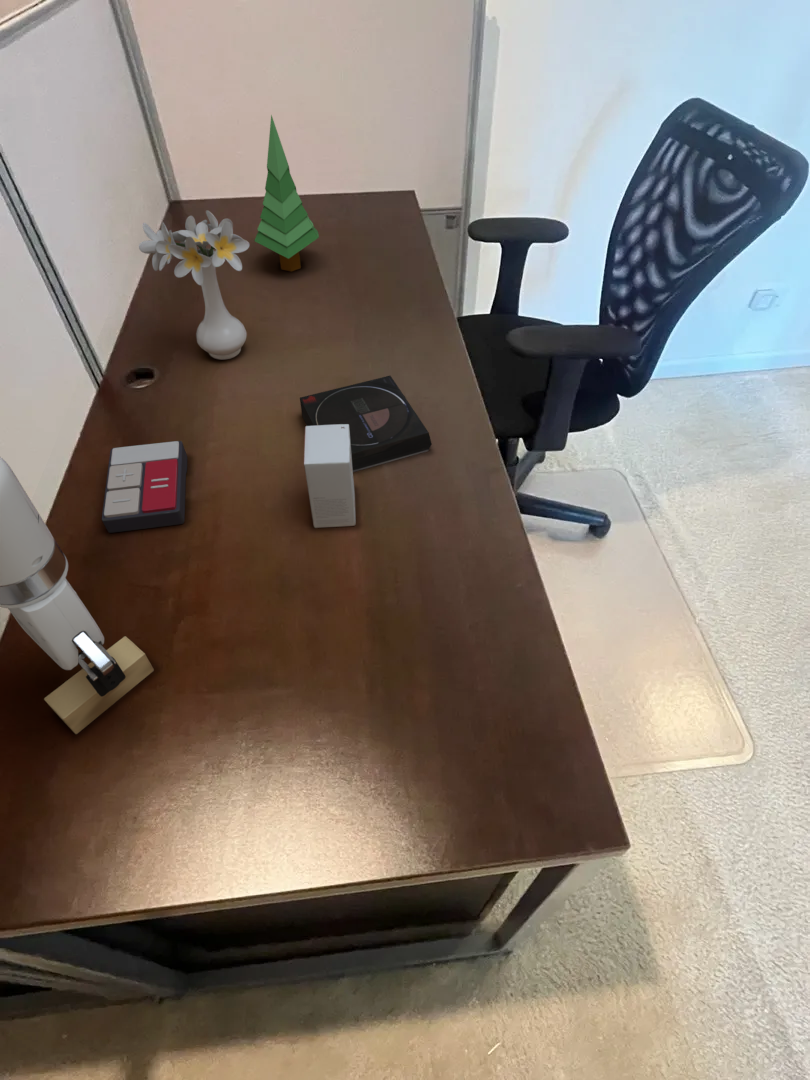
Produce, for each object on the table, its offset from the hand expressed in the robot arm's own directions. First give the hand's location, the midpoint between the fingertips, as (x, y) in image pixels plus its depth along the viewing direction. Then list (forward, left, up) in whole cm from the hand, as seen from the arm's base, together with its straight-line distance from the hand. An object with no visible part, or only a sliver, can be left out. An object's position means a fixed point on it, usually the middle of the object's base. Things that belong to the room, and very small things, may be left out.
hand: (87, 661), depth 76 cm
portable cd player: (-8, +56, -8) cm, 57 cm away
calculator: (-24, +24, -8) cm, 35 cm away
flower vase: (-45, +56, -8) cm, 72 cm away
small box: (0, +40, -8) cm, 41 cm away
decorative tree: (-59, +88, -8) cm, 106 cm away
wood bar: (0, 0, -7) cm, 7 cm away
